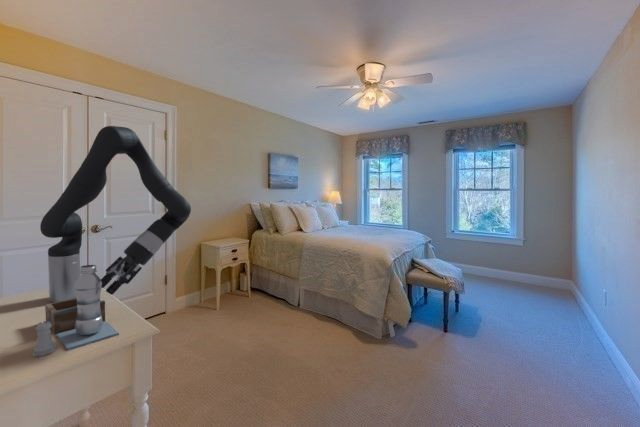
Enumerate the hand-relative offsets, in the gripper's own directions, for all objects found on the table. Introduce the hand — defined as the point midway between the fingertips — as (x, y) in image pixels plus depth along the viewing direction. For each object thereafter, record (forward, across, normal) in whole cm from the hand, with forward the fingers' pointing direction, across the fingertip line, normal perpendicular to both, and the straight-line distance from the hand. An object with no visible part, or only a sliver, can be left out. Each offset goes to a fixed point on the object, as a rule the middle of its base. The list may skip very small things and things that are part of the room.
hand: (103, 289), depth 90 cm
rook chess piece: (+19, +3, -1) cm, 19 cm away
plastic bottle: (+12, 0, +6) cm, 13 cm away
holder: (+12, -13, +6) cm, 19 cm away
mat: (+12, 0, +6) cm, 13 cm away
